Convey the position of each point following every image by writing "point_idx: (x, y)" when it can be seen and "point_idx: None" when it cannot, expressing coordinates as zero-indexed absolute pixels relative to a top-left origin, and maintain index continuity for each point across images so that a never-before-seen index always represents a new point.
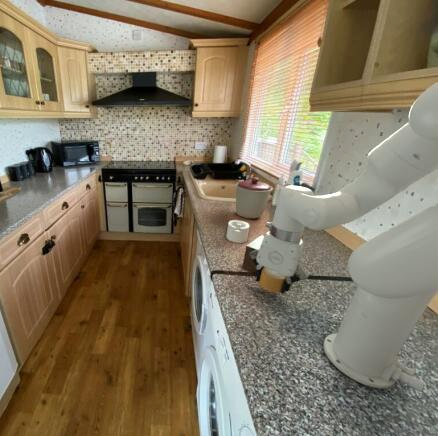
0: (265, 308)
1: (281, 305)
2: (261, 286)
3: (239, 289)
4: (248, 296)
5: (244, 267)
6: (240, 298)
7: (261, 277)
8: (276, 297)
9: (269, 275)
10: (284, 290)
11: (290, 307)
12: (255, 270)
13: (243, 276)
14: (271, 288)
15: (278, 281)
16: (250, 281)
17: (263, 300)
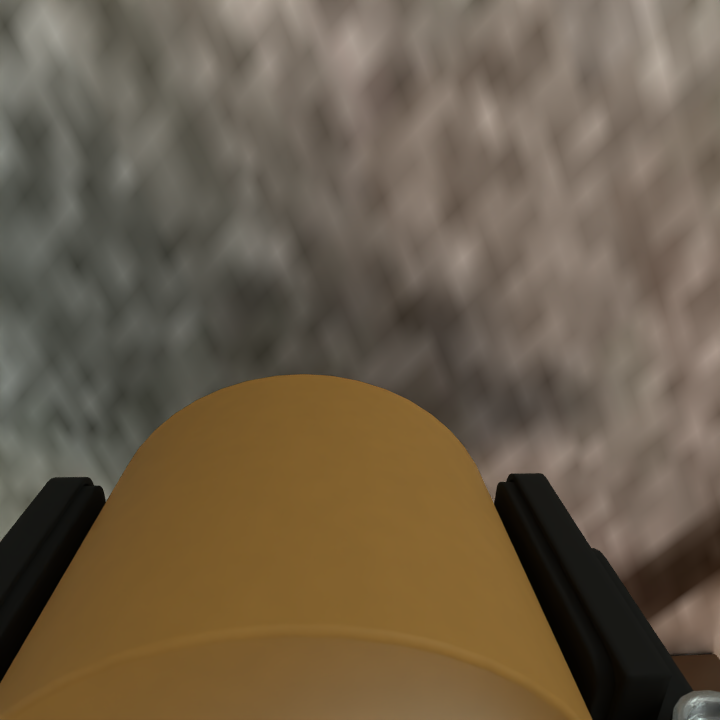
0: (216, 156)
1: (109, 375)
2: (408, 400)
3: (637, 273)
4: (491, 225)
5: (697, 666)
6: (569, 88)
7: (499, 542)
8: None
9: (331, 680)
10: (17, 538)
11: (22, 419)
12: None
13: (660, 535)
14: (216, 422)
15: (49, 634)
16: None
17: (309, 299)
